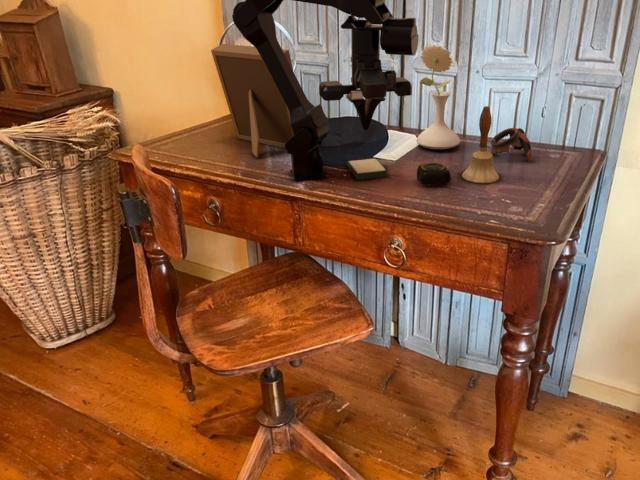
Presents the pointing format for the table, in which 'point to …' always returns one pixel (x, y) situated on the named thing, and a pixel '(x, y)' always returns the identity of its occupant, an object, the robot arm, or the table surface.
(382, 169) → the tan flat block
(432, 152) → the table surface
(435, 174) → the tape measure
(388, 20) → the robot arm
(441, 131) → the flower in vase
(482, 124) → the hand bell
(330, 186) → the table surface
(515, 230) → the table surface
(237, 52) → the photo frame
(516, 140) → the brown leather strap
